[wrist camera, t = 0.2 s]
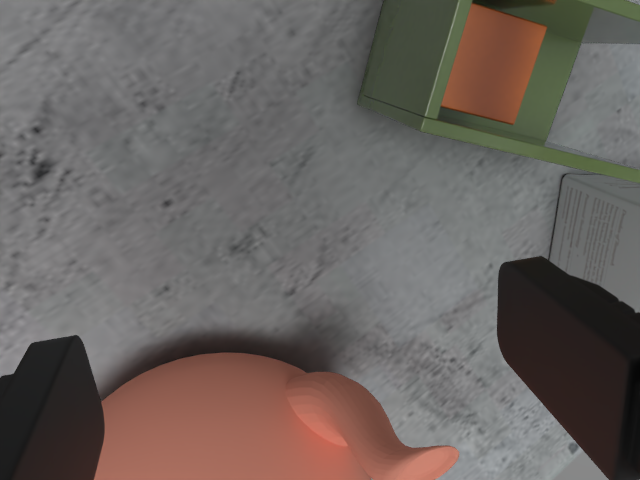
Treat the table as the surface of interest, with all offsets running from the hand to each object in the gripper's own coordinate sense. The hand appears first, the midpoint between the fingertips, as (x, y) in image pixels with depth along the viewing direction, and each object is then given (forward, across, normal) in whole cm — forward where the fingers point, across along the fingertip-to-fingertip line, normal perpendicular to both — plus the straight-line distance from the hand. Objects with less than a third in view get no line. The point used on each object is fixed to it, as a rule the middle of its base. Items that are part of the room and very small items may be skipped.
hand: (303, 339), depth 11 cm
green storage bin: (+17, -11, -2) cm, 20 cm away
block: (+16, -10, -3) cm, 19 cm away
